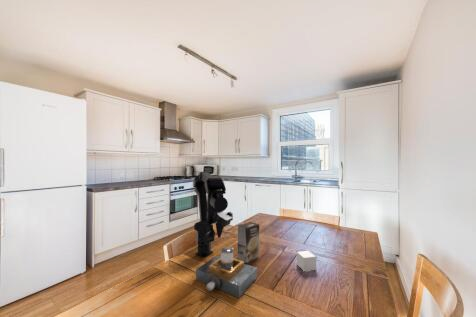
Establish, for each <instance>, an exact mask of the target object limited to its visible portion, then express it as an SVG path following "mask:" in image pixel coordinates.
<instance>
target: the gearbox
mask: <svg viewBox="0 0 476 317" xmlns="http://www.w3.org/2000/svg"><path fill="white" fill-rule="evenodd" d="M220 267H221V255H216V256H214V257H213V258H211V259H209V260H207V261H206V262H205V263H204V264H202V265H200V266H199V267H197V268H195V281H196V280H197V281H198V282H201V283H203V284H206V290H207V292H211V291H213V290H214V291H219V290H220V291H222V292H224V293H227V294H229V295H230V296H231V295H232V296H234V297H236V298H241V296H242V295H243V294H244V293H245V292H246V291H247V290H248V289H249V287H250V286H251V285H252V284H253V283H254V282H255V281H256V280H257V279H258V267H256V266H254V265H249V264H248V263H247V264H246V263H245V262H244V261H241V260H239V259H238V258H234V257H233V269H231V270H230V271H228V270H225V269H222V268H220Z"/></svg>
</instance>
